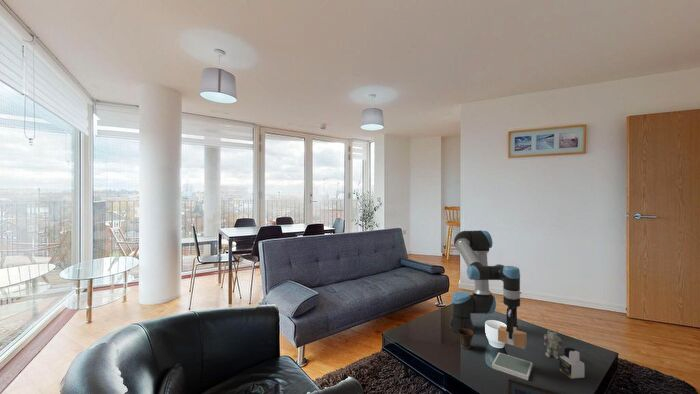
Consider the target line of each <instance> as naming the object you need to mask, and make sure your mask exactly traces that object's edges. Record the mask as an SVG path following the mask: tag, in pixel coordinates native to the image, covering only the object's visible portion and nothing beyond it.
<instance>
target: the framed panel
mask: <svg viewBox="0 0 700 394" xmlns="http://www.w3.org/2000/svg"><path fill="white" fill-rule="evenodd" d="M533 366H534V365H533V362H531V361H528V360H525V359H521V358H519V357H515V356H512V355H508V354H506V353H502V352H497V355H496V357H495V358H494V359H493V362H492V364H491V368H492V369H494V370H497V371H500V372H502V373H505V374H508V375H512V376H514V377H516V378H519V379H523V380H525V381H528V380H529V379H530V375H531V372H532V370H533Z"/></svg>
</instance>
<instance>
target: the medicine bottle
mask: <svg viewBox="0 0 700 394" xmlns="http://www.w3.org/2000/svg"><path fill="white" fill-rule="evenodd" d="M563 352H564V353H563V354H564V355H561V356H559V371H560V372H562V373H563V374H564V375H566V376H567V377H568V378H570V379H582V378H585V362H583V361H581V360H580V351H578V350H577V349H575V348H573V347H565V348H564V349H563Z"/></svg>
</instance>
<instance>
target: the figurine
mask: <svg viewBox="0 0 700 394" xmlns="http://www.w3.org/2000/svg"><path fill="white" fill-rule="evenodd" d="M543 339H544V343H543V345H544V346H546V352H545V353H544V354H545V356H546V357H547V358H550V357H551V353H552V352H553V355H552V356H553V358H554V359H556V360H558V359H559V360H560V356H559V353H558V352H559V351H558V348H559V349H561V348H562V346H561V345H562V338H561V336H560V335H558V330H555V331H552V330H550V329H547V332H546V333H544V334H543Z"/></svg>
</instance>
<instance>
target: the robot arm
mask: <svg viewBox="0 0 700 394" xmlns="http://www.w3.org/2000/svg"><path fill="white" fill-rule="evenodd" d="M453 246H454V248H455V249H456V250H457V251H459V254H460V255H461V257H462V259H463V261H464V262H465V264H466V266H467V268H466V275H467V278H468V280H473V281H474V289H473V291H472V294H471V293H470V292H468V291H457V292H454V293H453V294H452V296H451V318H450V321H449V328H450V330H452V331H453V332H455V333H458V329H460V328H466V329H470V330H472V331H473V332H475V329H474V328H475V327H474V323H473V321H472V317H471V316H472V315H471V314H479V315H481V314H483V315H484V314H485V315H487V314H489V315H491V314H493V313H494V312H495V311H496V307H497V301H496V297H495V296H494V295H493V293H492V292H491V291H490V284H489V283H490V282H489V281H502V283H503V285H502V286H503V288H502V289H503V290H502V291H503V294H502V295H503V297H502V299H503V304H504V305H505V306H507V308H506V313H505V314H506V327H507V330H506V331H507V332H508V344H507V345H511V346H513V345H514V332H513V329H514V330H517V328H519V325H518V307H520V306H521V299H520V298H521V295H522V292H521V272H520V268H519V267H517V266H513V265H504V264H500V263H499V264H498V263H497V264H495V265H489V264H488V253H489V252H490V249H491V248H492V247H493V239H492V236H491V234H490V232H489V231H487V230H481V229H480V230H463V231H460V232H458V233H457V234H456V235H455V236H454V238H453Z"/></svg>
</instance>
